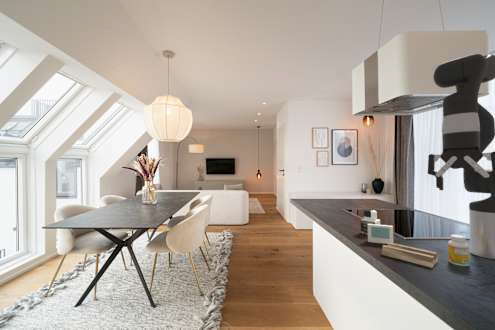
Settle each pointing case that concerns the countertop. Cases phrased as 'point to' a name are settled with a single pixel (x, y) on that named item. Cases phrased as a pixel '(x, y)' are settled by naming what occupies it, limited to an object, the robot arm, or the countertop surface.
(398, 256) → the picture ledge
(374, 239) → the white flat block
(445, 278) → the countertop surface
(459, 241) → the supplement bottle
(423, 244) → the countertop surface
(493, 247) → the robot arm
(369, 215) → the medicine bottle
